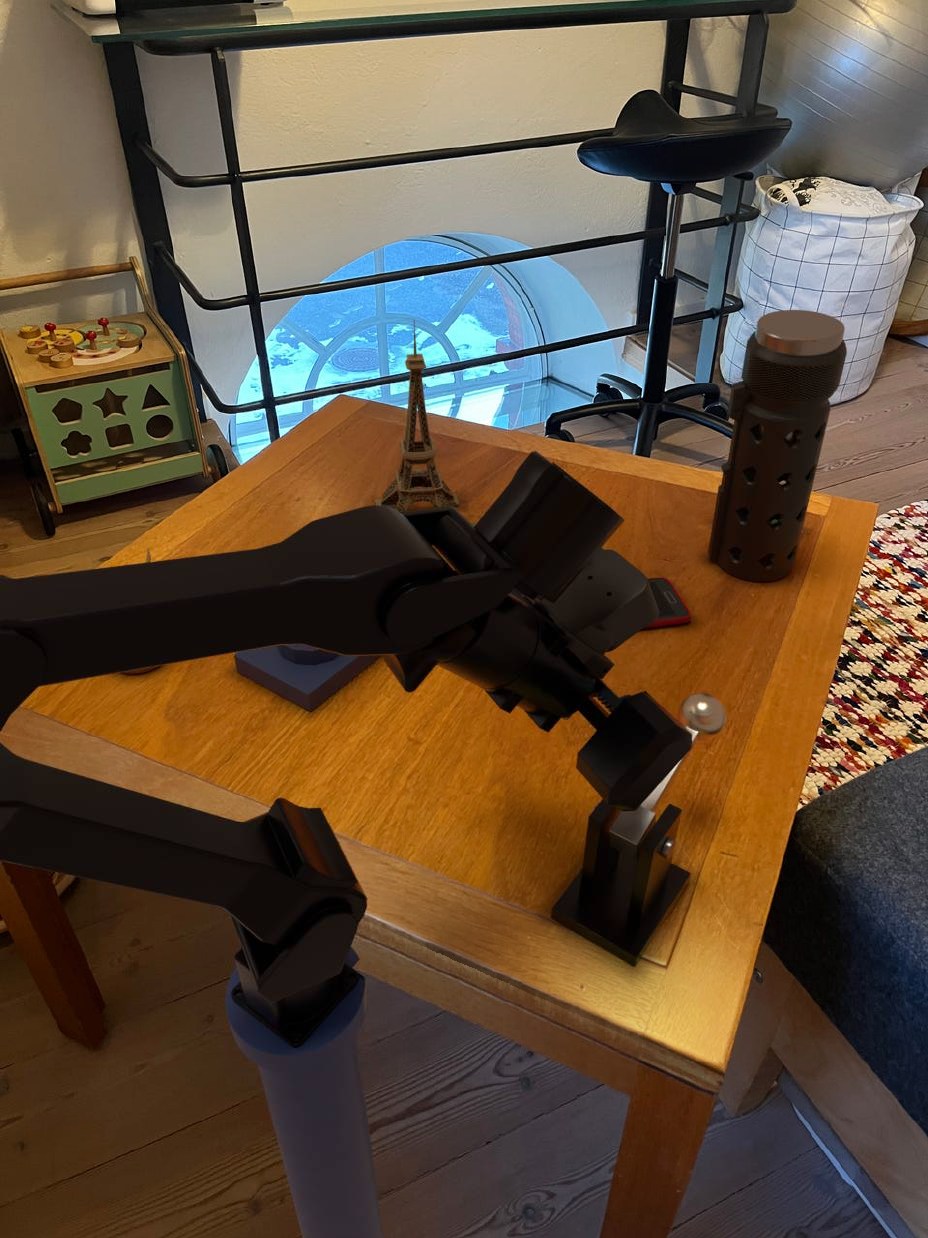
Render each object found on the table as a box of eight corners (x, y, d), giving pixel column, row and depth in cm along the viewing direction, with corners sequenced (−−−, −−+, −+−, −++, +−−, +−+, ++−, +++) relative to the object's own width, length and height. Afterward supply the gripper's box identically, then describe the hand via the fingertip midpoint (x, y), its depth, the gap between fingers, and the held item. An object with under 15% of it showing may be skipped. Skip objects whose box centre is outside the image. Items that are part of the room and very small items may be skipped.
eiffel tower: (381, 544, 109) (368, 339, 94) (375, 501, 118) (362, 306, 103) (468, 538, 111) (469, 334, 96) (456, 495, 119) (455, 302, 104)
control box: (310, 712, 86) (306, 679, 83) (236, 672, 90) (230, 640, 88) (391, 647, 94) (390, 616, 91) (320, 613, 98) (316, 583, 96)
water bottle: (713, 584, 103) (806, 582, 103) (754, 344, 85) (866, 341, 85) (697, 537, 110) (784, 535, 110) (732, 307, 93) (835, 304, 93)
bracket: (608, 840, 74) (621, 753, 68) (688, 882, 70) (709, 795, 65) (550, 918, 68) (558, 830, 62) (634, 968, 65) (652, 881, 59)
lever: (689, 703, 73) (691, 676, 70) (732, 722, 71) (735, 695, 68) (601, 845, 66) (599, 821, 63) (646, 869, 64) (646, 845, 61)
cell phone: (693, 623, 97) (694, 616, 96) (559, 640, 94) (559, 632, 94) (666, 583, 103) (667, 575, 102) (539, 597, 100) (540, 590, 100)
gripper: (690, 623, 47) (803, 713, 57) (505, 471, 60) (625, 567, 70) (551, 784, 48) (686, 842, 59) (401, 602, 61) (534, 677, 72)
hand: (630, 719), depth 65 cm, fingers open, 7 cm apart
